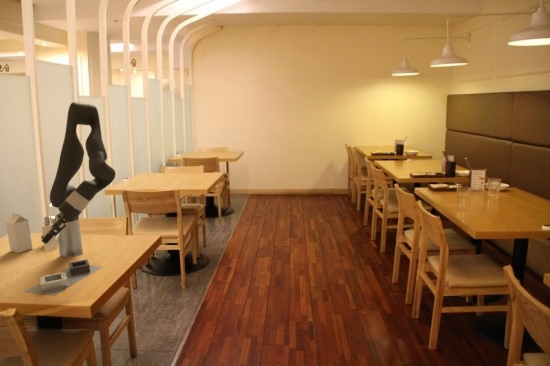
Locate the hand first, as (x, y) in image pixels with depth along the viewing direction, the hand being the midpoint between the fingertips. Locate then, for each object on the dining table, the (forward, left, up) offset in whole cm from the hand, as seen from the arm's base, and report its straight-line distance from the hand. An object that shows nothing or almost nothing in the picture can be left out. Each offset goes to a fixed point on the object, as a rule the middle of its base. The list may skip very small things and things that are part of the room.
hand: (43, 240), depth 161 cm
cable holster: (+1, +16, -19) cm, 24 cm away
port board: (+1, +8, -20) cm, 22 cm away
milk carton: (-49, +35, -20) cm, 63 cm away
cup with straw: (-42, +49, -20) cm, 67 cm away
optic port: (+1, +1, -19) cm, 19 cm away
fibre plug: (+1, +1, -4) cm, 5 cm away
